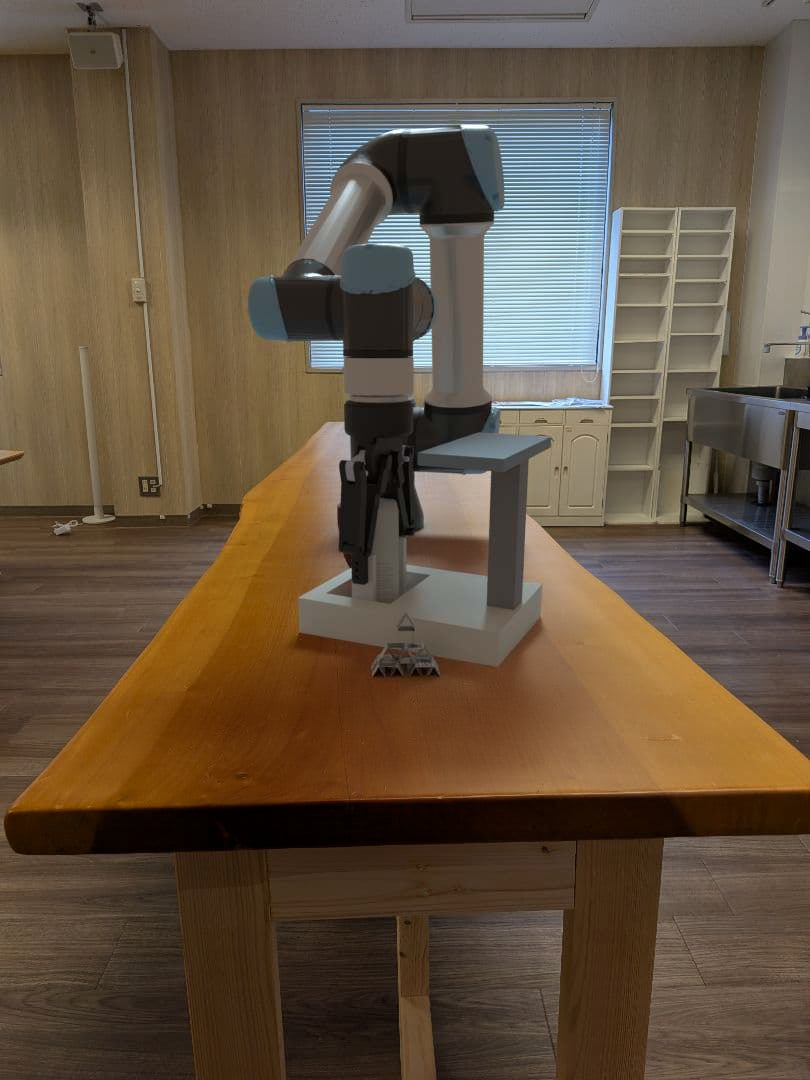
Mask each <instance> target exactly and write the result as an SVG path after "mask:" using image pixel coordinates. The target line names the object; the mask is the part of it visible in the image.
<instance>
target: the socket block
mask: <svg viewBox="0 0 810 1080" xmlns="http://www.w3.org/2000/svg"><path fill="white" fill-rule="evenodd" d="M487 579H488V575H481V574H474V573H467V572H460V571H455V570H447V569H446V570H445V569H440V568H433V567H426V566H419V565H411V564H406V590H404V591H401V590H399V598H398V599H397V600H395V601H394V602H392V603H391V604H386V603H380V602H374V601H368V600H362V599H356V598H352V570H351V568H348V569H347V570H345V571H343V572H341V573H339V574H338V575H335V576H334V577H332V578H330V579H329V580H327V581H326V582H324V583H322V584H320V585H318V586H316V587H315V588H313V589H311V590H309V591H308V592H305V593H304V594H302V595H300V596H298V597H297V599H298V602H297V603H298V605H297V606H298V619H299V620H298V623H299V624H298V625H299V626H298V627H299V629H298V630H299V634H305V635H312V636H318V637H323V638H330V639H334V640H339V641H345V642H351V643H357V644H358V643H359V644H363V645H369V646H373V647H375V646H376V647H381V648H384V647H385V646H386V644H387V643H423V644H424V645H425V647H426V649H427V650H428V652H429V654H430V655H431V654H432V656H433V657H438V658H442V659H450V660H455V661H462V662H466V663H473V664H480V665H485V666H491V667H496V668H497V667H499V666H500V665H501V664H502V662H503V661H504V660H505V659H506V658H507V657H508V656H509V654H510V653H511V652H512V651H513V650H514V649H515V648H516V646H517V645H518V644H519V643H520V642H521V641H522V639H523V638H524V637H525V636H526V635H527V634H528V633H529V631H530V630H531V629H532V628H533V626H534V625H536V623H537V621H539V619H541V615H542V595H543V593H542V592H543V583H538V582H530V581H524V580H523V591H522V602H521V603H520V604H519V605H518V606H517V607H516V608H515V609H514V610H510V609H504V608H498V607H491V606H487ZM405 612H407V614H408V616H409V617H410V619H411V620H412V622H413V624H414V625H415V629H416V631H396V626H397V625H398V624H399V622H400V620H401V619H402V617H403V615H404V614H405ZM401 626H412V625H411V623H410V622H409V620H408V618H407V617H406V618H405V619H404V621H403V623H402V624H401ZM391 650H397V651H400V650H401V648H391ZM410 651H411V653H413V654H417V653H418V651H419V649H410ZM404 652H407V651H406V649H405V651H404ZM420 655H427V653H426V652H425V650H423V651H422V653H421V654H420Z"/></svg>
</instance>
